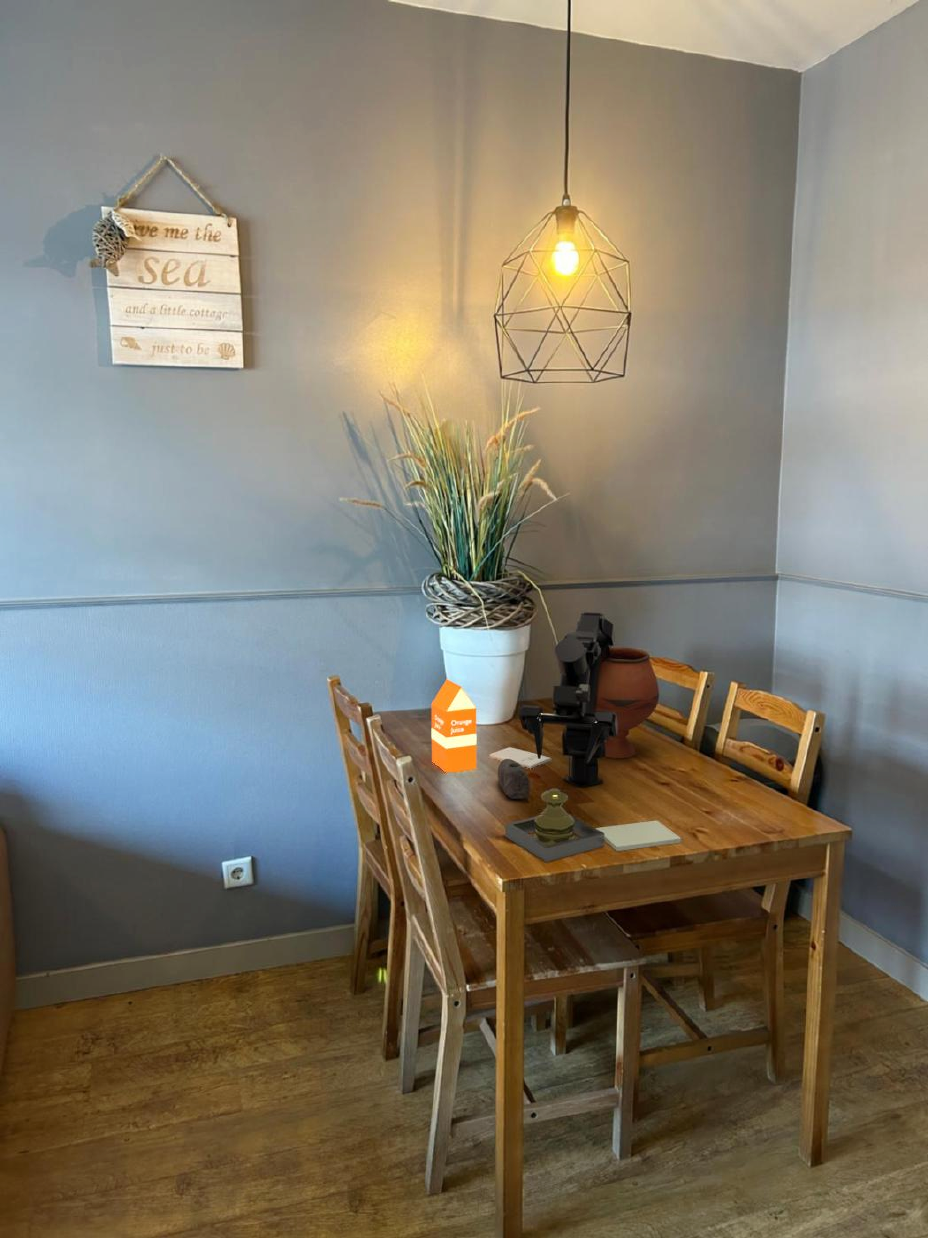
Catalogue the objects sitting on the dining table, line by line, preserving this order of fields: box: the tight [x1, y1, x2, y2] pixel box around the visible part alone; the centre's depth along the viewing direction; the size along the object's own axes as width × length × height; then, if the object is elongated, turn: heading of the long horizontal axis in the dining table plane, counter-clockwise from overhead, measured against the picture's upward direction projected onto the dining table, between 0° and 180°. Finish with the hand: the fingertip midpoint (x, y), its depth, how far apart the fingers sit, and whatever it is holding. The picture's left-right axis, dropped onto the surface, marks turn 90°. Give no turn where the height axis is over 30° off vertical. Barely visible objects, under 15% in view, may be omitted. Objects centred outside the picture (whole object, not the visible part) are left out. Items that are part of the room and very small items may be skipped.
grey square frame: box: [504, 816, 605, 863], centre depth 163 cm, size 13×13×2 cm
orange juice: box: [430, 678, 477, 774], centre depth 204 cm, size 8×9×20 cm
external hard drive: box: [489, 746, 552, 770], centre depth 210 cm, size 2×8×12 cm
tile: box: [594, 820, 682, 852], centre depth 165 cm, size 13×9×1 cm
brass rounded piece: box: [533, 788, 575, 845], centre depth 162 cm, size 7×7×10 cm
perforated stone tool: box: [497, 759, 531, 800], centre depth 188 cm, size 15×5×7 cm, turn 10°
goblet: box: [596, 647, 660, 759], centre depth 213 cm, size 19×19×25 cm
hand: (562, 760), depth 168 cm, fingers open, 9 cm apart
